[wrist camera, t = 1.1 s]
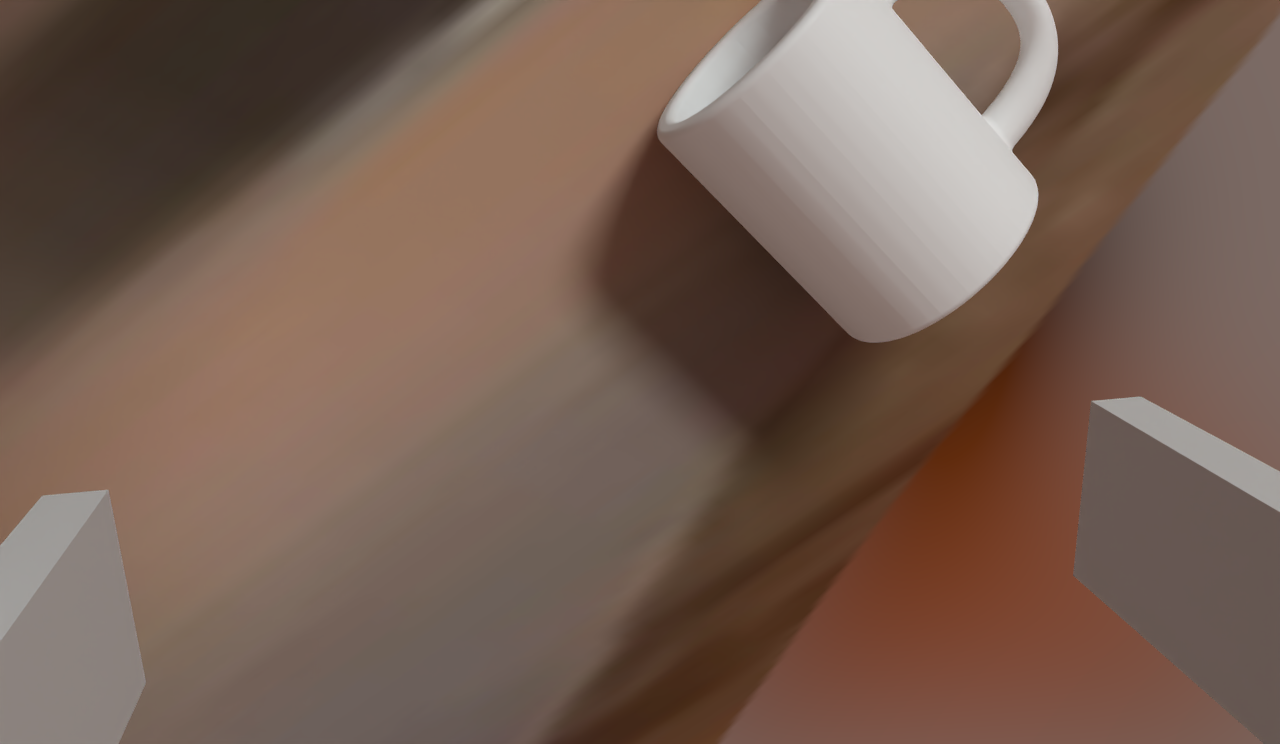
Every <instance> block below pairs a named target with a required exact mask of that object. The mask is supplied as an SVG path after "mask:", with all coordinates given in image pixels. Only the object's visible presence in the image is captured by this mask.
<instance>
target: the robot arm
mask: <svg viewBox="0 0 1280 744" xmlns="http://www.w3.org/2000/svg"><path fill="white" fill-rule="evenodd" d="M1073 576H1074V577H1076V578H1077V579H1078V580H1079V581H1080V582H1081V583H1082V584H1084V585H1085V586H1086V587H1087V588H1088V589H1089V590H1090V591H1091V592H1093V593H1094V594H1095V595H1096V596H1097V597H1098V598H1099V599H1100V600H1102V601H1103V602H1104V603H1105V604H1106V605H1107V606H1108V607H1110V608H1111V609H1112V610H1113V611H1114V612H1115V613H1116V614H1117V615H1119V616H1120V617H1121V618H1122V619H1123V620H1124V621H1126V622H1127V623H1128V624H1129V625H1130V626H1131V627H1132V628H1133V629H1135V630H1136V631H1137V632H1138V633H1139V634H1140V635H1141V636H1142V637H1144V638H1145V639H1146V640H1147V641H1148V642H1149V643H1150V644H1151V645H1153V646H1154V647H1155V648H1156V649H1157V650H1158V651H1160V652H1161V653H1162V654H1163V655H1164V656H1165V657H1166V658H1167V659H1169V660H1170V661H1171V662H1172V663H1173V664H1174V665H1175V666H1176V667H1178V668H1179V669H1180V670H1181V671H1182V672H1183V673H1184V674H1186V675H1187V676H1188V677H1189V678H1190V679H1191V680H1192V681H1194V682H1195V683H1196V684H1197V685H1198V686H1199V687H1200V688H1201V689H1203V690H1204V691H1205V692H1206V693H1207V694H1208V695H1209V696H1210V697H1212V698H1213V699H1214V700H1215V701H1216V702H1217V703H1218V704H1220V705H1221V706H1222V707H1223V708H1224V709H1225V710H1226V711H1228V712H1229V713H1230V714H1231V715H1232V716H1233V717H1234V718H1235V719H1237V720H1238V721H1239V722H1240V723H1241V724H1242V725H1243V726H1244V727H1246V728H1247V729H1248V730H1249V731H1250V732H1251V733H1253V734H1254V735H1255V736H1256V737H1257V738H1258V739H1259V740H1260V741H1261V742H1263V743H1264V744H1280V472H1279V471H1278V470H1276V469H1274V468H1272V467H1270V466H1268V465H1267V464H1265V463H1263V462H1261V461H1259V460H1257V459H1255V458H1254V457H1252V456H1250V455H1248V454H1246V453H1244V452H1242V451H1241V450H1239V449H1237V448H1235V447H1233V446H1231V445H1229V444H1228V443H1226V442H1224V441H1222V440H1220V439H1218V438H1217V437H1215V436H1213V435H1211V434H1209V433H1207V432H1205V431H1204V430H1202V429H1200V428H1198V427H1196V426H1194V425H1192V424H1190V423H1188V422H1187V421H1185V420H1183V419H1181V418H1179V417H1178V416H1176V415H1174V414H1172V413H1170V412H1168V411H1167V410H1165V409H1162V408H1161V407H1159V406H1157V405H1155V404H1154V403H1152V402H1150V401H1148V400H1146V399H1144V398H1143V397H1131V398H1120V399H1109V400H1098V401H1091V408H1090V418H1089V427H1088V437H1087V447H1086V456H1085V467H1084V476H1083V486H1082V495H1081V505H1080V515H1079V524H1078V534H1077V545H1076V554H1075V564H1074V574H1073ZM145 684H146V680H145V675H144V670H143V665H142V660H141V655H140V649H139V644H138V639H137V634H136V629H135V624H134V619H133V613H132V608H131V603H130V598H129V593H128V588H127V583H126V577H125V572H124V567H123V562H122V557H121V552H120V546H119V541H118V536H117V531H116V526H115V521H114V516H113V510H112V505H111V500H110V495H109V490H100V491H89V492H78V493H67V494H55V495H44V496H42V497H41V498H40V499H39V500H38V501H37V503H36V504H35V505H34V506H33V507H32V508H31V510H30V511H29V512H28V513H27V514H26V516H25V517H24V518H23V519H22V520H21V522H20V523H19V524H18V525H17V526H16V527H15V529H14V530H13V531H12V532H11V533H10V535H9V536H8V537H7V538H6V539H5V541H4V542H3V543H2V544H1V545H0V744H119V742H120V739H121V737H122V735H123V733H124V731H125V728H126V726H127V724H128V722H129V719H130V717H131V715H132V713H133V710H134V708H135V706H136V704H137V702H138V699H139V697H140V695H141V693H142V690H143V688H144V686H145Z"/></svg>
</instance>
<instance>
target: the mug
mask: <svg viewBox="0 0 1280 744" xmlns="http://www.w3.org/2000/svg"><path fill="white" fill-rule="evenodd" d="M896 1H897V0H761V1H760V2H759V3H758V4H757V5H756V6H755V7H754V8H752V9H751V10H750V11H749V12H748V13H747V14H746V15H745V16H744V17H743V18H742V19H741V20H740V21H739V22H738V23H736V24H735V25H734V26H733V27H732V28H731V29H730V30H729V31H728V32H727V33H726V34H725V35H724V36H723V37H722V38H721V39H720V41H719V42H718V43H717V44H716V45H715V46H714V47H713V48H712V49H711V50H710V51H709V52H708V53H707V54H706V56H705V57H704V58H703V59H702V60H701V61H700V62H699V63H698V65H697V66H696V67H695V68H694V69H693V71H692V72H691V73H690V74H689V75H688V77H687V78H686V79H685V80H684V82H683V83H682V84H681V86H680V87H679V88H678V90H677V91H676V92H675V94H674V95H673V97H672V98H671V100H670V101H669V103H668V104H667V106H666V108H665V109H664V111H663V113H662V115H661V117H660V120H659V123H658V126H657V136H658V139H659V140H660V142H661V143H662V144H663V145H664V146H665V147H666V148H667V149H668V150H669V151H670V152H671V153H672V154H673V155H674V156H675V157H676V158H677V159H678V160H679V161H680V162H681V163H682V164H683V166H684V167H685V168H686V169H687V170H688V171H689V172H690V173H691V174H692V175H693V176H694V177H695V178H696V179H697V180H698V181H699V182H700V183H701V184H702V185H703V186H704V187H705V188H706V189H707V190H708V191H709V192H710V193H711V194H712V195H713V196H714V197H715V198H716V199H717V200H718V201H719V202H720V203H721V204H722V205H723V206H724V207H725V208H726V209H727V210H728V212H729V213H730V214H731V215H732V216H733V217H734V218H735V219H736V220H737V221H738V222H739V223H740V224H741V225H742V226H743V227H744V228H745V229H746V230H747V231H748V232H749V233H750V234H751V235H752V236H753V237H754V238H755V239H756V240H757V241H758V242H759V243H760V244H761V245H762V246H763V247H764V248H765V249H766V250H767V251H768V252H769V253H770V254H771V255H772V257H773V258H774V259H775V260H776V261H777V262H778V263H779V264H780V265H781V266H782V267H783V268H784V269H785V270H786V271H787V272H788V273H789V274H790V275H791V276H792V277H793V278H794V279H795V280H796V281H797V282H798V283H799V284H800V285H801V286H802V287H803V288H804V289H805V290H806V291H807V292H808V293H809V294H810V295H811V296H812V297H813V298H814V299H815V300H816V302H817V303H818V304H819V305H820V306H821V307H822V308H823V309H824V310H825V311H826V312H827V313H828V314H829V315H830V316H831V317H832V318H833V319H834V320H835V321H836V322H837V323H838V324H839V325H840V326H841V327H842V328H843V329H844V330H845V331H846V332H847V333H848V334H849V335H850V336H851V337H853V338H855V339H857V340H860V341H863V342H869V343H879V342H887V341H892V340H896V339H900V338H903V337H905V336H908V335H911V334H913V333H916V332H918V331H920V330H922V329H924V328H926V327H928V326H930V325H932V324H934V323H935V322H937V321H939V320H940V319H942V318H944V317H945V316H947V315H948V314H950V313H951V312H953V311H954V310H956V309H957V308H958V307H960V306H961V305H962V304H964V303H965V302H966V301H967V300H969V299H970V298H971V297H972V296H974V295H975V294H976V293H977V292H978V291H979V290H981V289H982V288H983V287H984V286H985V285H986V284H987V283H988V282H989V281H990V280H991V279H992V278H993V277H994V276H995V275H996V274H997V273H998V272H999V271H1000V269H1001V268H1002V267H1003V266H1004V265H1005V264H1006V263H1007V261H1008V260H1009V259H1010V258H1011V256H1012V255H1013V254H1014V252H1015V251H1016V250H1017V248H1018V247H1019V245H1020V244H1021V242H1022V240H1023V239H1024V237H1025V235H1026V234H1027V232H1028V230H1029V228H1030V226H1031V224H1032V221H1033V219H1034V216H1035V213H1036V209H1037V204H1038V188H1037V184H1036V182H1035V179H1034V178H1033V176H1032V175H1031V174H1030V173H1029V171H1028V170H1027V169H1026V168H1025V167H1024V165H1023V164H1022V163H1021V162H1020V161H1019V160H1018V158H1017V157H1016V156H1015V155H1014V154H1013V152H1012V149H1013V147H1014V146H1015V144H1016V143H1017V142H1018V141H1019V139H1020V138H1021V137H1022V136H1023V135H1024V133H1025V132H1026V130H1027V129H1028V128H1029V126H1030V125H1031V124H1032V122H1033V121H1034V119H1035V118H1036V116H1037V115H1038V113H1039V111H1040V109H1041V108H1042V106H1043V104H1044V102H1045V100H1046V98H1047V96H1048V93H1049V91H1050V88H1051V86H1052V83H1053V80H1054V76H1055V72H1056V67H1057V59H1058V40H1057V32H1056V27H1055V23H1054V19H1053V16H1052V13H1051V11H1050V8H1049V6H1048V4H1047V2H1046V0H1000V1H1001V2H1002V3H1003V5H1004V6H1005V7H1006V8H1007V10H1008V11H1009V13H1010V14H1011V16H1012V17H1013V19H1014V21H1015V23H1016V25H1017V27H1018V30H1019V34H1020V41H1021V47H1020V54H1019V57H1018V61H1017V63H1016V66H1015V68H1014V70H1013V72H1012V74H1011V76H1010V78H1009V79H1008V81H1007V83H1006V84H1005V86H1004V87H1003V89H1002V90H1001V92H1000V93H999V94H998V96H997V97H996V98H995V100H994V101H993V102H992V104H991V105H990V106H989V107H988V108H987V110H986V111H985V112H984V113H983V114H982V115H981V114H980V113H979V112H978V111H977V109H976V108H975V107H974V106H973V105H972V103H971V102H970V101H969V100H968V99H967V97H966V96H965V95H964V94H963V93H962V91H961V90H960V89H959V88H958V87H957V86H956V84H955V83H954V82H953V81H952V80H951V78H950V77H949V76H948V75H947V74H946V72H945V71H944V70H943V69H942V68H941V66H940V65H939V64H938V63H937V62H936V60H935V59H934V58H933V57H932V56H931V54H930V53H929V52H928V51H927V50H926V49H925V47H924V46H923V45H922V44H921V43H920V41H919V40H918V39H917V38H916V37H915V35H914V34H913V33H912V32H911V31H910V29H909V28H908V27H907V26H906V25H905V23H904V22H903V21H902V20H901V19H900V17H899V16H898V15H897V14H896V13H895V11H894V10H893V9H892V6H893V4H894V3H895V2H896Z"/></svg>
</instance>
